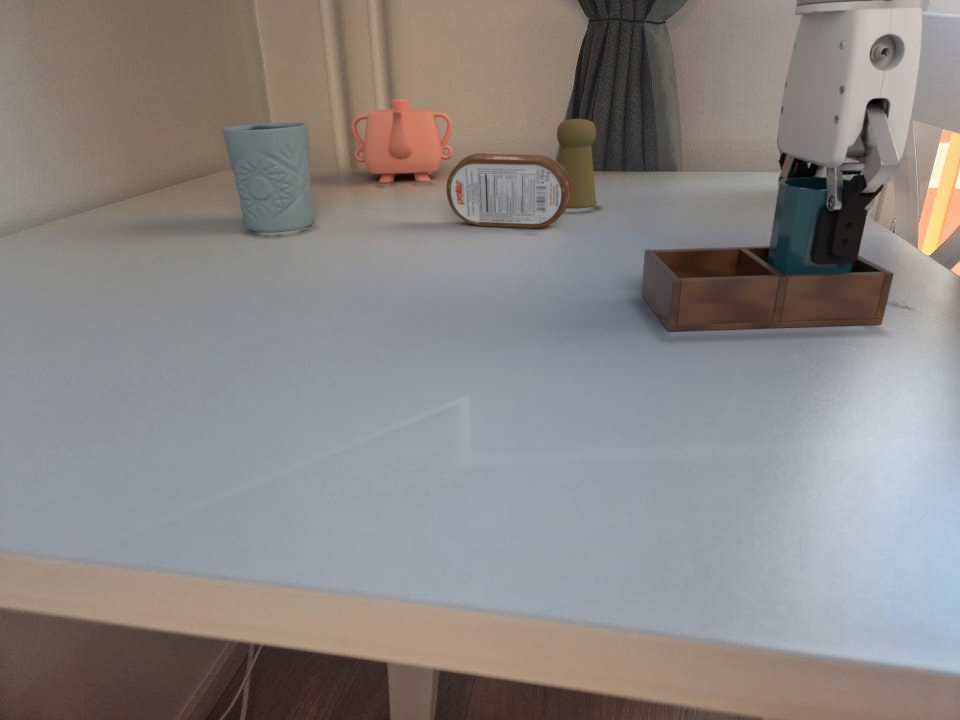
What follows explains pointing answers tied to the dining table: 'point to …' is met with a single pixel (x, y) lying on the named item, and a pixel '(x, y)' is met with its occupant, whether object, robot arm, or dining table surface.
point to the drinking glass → (272, 174)
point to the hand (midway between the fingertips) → (811, 248)
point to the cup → (799, 227)
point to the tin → (509, 190)
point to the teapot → (402, 141)
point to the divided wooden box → (757, 291)
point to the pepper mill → (578, 160)
